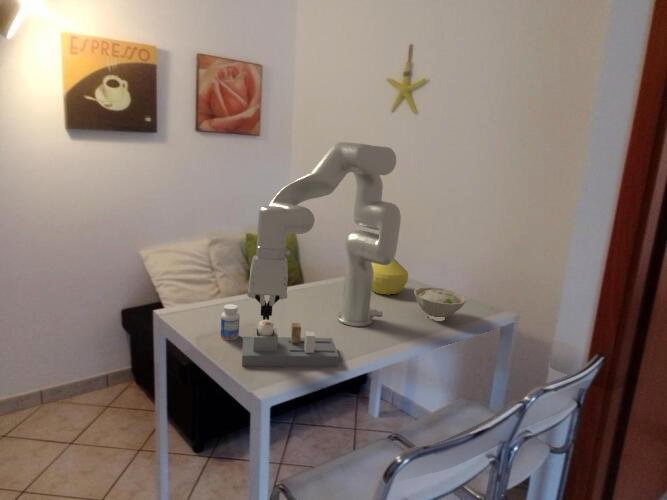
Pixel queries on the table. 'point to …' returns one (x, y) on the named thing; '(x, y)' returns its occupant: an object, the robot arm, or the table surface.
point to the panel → (286, 351)
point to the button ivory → (265, 328)
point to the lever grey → (309, 342)
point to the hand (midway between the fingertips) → (265, 317)
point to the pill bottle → (230, 322)
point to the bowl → (439, 301)
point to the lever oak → (295, 333)
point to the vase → (389, 278)
